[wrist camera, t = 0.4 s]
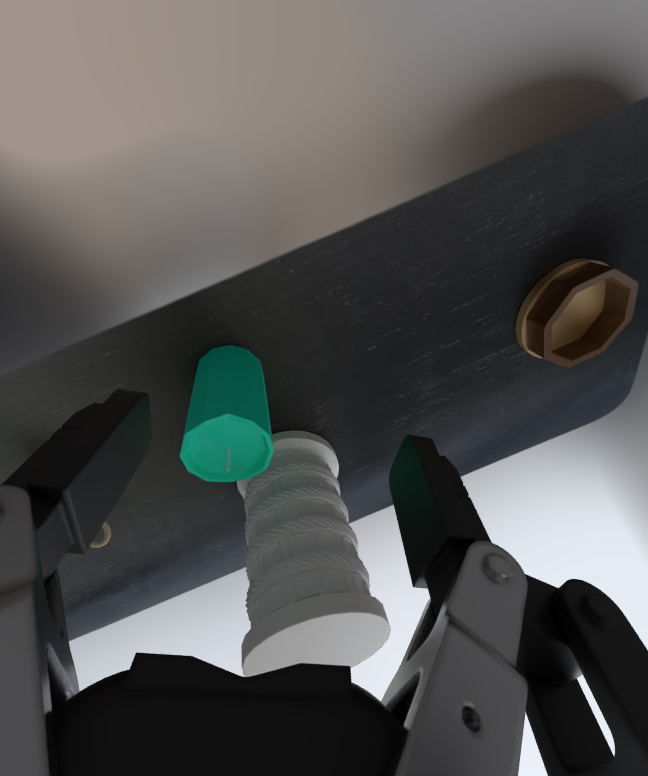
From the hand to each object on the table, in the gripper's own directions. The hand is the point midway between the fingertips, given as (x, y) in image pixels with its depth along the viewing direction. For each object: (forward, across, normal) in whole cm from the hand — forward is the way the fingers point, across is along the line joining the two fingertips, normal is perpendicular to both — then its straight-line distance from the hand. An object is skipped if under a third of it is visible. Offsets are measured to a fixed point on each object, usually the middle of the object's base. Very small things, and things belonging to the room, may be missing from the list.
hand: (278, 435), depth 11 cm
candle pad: (+25, -27, -1) cm, 37 cm away
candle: (+19, +5, +10) cm, 22 cm away
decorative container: (+20, -2, +22) cm, 29 cm away
